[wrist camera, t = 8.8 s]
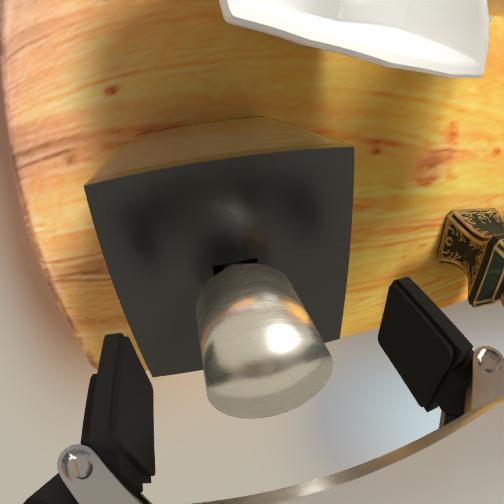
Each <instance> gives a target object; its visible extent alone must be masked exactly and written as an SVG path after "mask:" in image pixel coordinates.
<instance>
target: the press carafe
mask: <svg viewBox="0 0 504 504" xmlns="http://www.w3.org/2000/svg"><path fill="white" fill-rule="evenodd" d="M353 182H354V146H352V145H349V144H346V143H344V142H341V141H338V140H335V139H333V138H330V137H327V136H324V135H321V134H318V133H315V132H312V131H309V130H306V129H303V128H300V127H296V126H293V125H290V124H287V123H283V122H280V121H277V120H273V119H270V118H266V117H263V116H261V117H250V118H240V119H231V120H223V121H215V122H207V123H200V124H194V125H187V126H181V127H175V128H169V129H164V130H158V131H153V132H148V133H143V134H138V135H136V136H135V137H134V138H133V139H132V140H131V141H129V142H128V143H127V144H126V145H125V146H124V147H123V148H122V149H121V150H120V151H119V152H117V153H116V154H115V155H114V156H113V157H112V158H111V159H110V160H109V161H108V162H107V163H106V164H105V165H104V166H103V167H102V168H101V169H100V170H99V171H98V172H97V173H96V174H95V175H94V176H93V177H92V178H91V179H90V180H89V181H88V182H87V183H86V184H85V185H84V189H85V193H86V197H87V201H88V204H89V208H90V212H91V215H92V219H93V223H94V226H95V229H96V233H97V236H98V239H99V243H100V246H101V249H102V252H103V255H104V258H105V261H106V264H107V267H108V270H109V273H110V276H111V279H112V281H113V284H114V287H115V290H116V292H117V295H118V298H119V300H120V303H121V306H122V308H123V311H124V313H125V316H126V318H127V321H128V323H129V326H130V328H131V330H132V333H133V335H134V338H135V340H136V342H137V344H138V347H139V349H140V351H141V353H142V356H143V358H144V360H145V362H146V364H147V367H148V369H149V371H150V373H151V375H152V377H158V376H166V375H173V374H179V373H186V372H192V371H198V370H203V363H202V356H201V348H200V341H199V333H198V325H197V316H196V303H197V299H198V296H199V293H200V292H201V290H202V288H203V287H204V285H205V284H206V283H207V282H208V281H209V280H210V279H211V278H212V277H214V276H215V275H216V274H218V273H219V272H221V271H223V267H222V264H226V263H232V262H237V261H242V262H243V264H247V263H257V264H264V265H268V266H271V267H273V268H275V269H277V270H279V271H280V272H282V273H283V274H284V275H285V276H286V277H287V278H288V280H289V281H290V283H291V285H292V286H293V288H294V290H295V292H296V294H297V295H298V297H299V299H300V301H301V302H302V304H303V306H304V308H305V310H306V311H307V313H308V315H309V317H310V319H311V320H312V322H313V324H314V326H315V328H316V329H317V331H318V333H319V335H320V337H321V338H322V340H323V342H324V343H326V342H330V341H333V340H337V339H340V332H341V325H342V317H343V309H344V301H345V292H346V283H347V274H348V263H349V251H350V239H351V224H352V206H353Z"/></svg>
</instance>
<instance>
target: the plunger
mask: <svg viewBox="0 0 504 504" xmlns="http://www.w3.org/2000/svg"><path fill="white" fill-rule="evenodd" d="M222 267H223V271H221V272H219V273H218V274H216V275H215V276H214V277H212V278H211V279H210V280H209V281H208V282H207V283H206V284H205V285H204V287H203V288H202V290H201V292H200V293H199V296H198V299H197V303H196V316H197V325H198V333H199V341H200V348H201V356H202V363H203V370H204V377H205V384H206V390H207V396H208V398H209V401H210V402H211V404H212V405H213V406H214V407H215V408H216V409H218V410H219V411H221V412H223V413H225V414H227V415H230V416H234V417H238V418H264V417H270V416H275V415H278V414H281V413H284V412H287V411H290V410H292V409H294V408H296V407H298V406H300V405H302V404H303V403H305V402H307V401H308V400H309V399H311V398H312V397H313V396H315V395H316V394H317V393H318V392H319V391H320V390H321V389H322V388H323V386H324V385H325V384H326V382H327V381H328V379H329V377H330V375H331V371H332V364H333V363H332V357H331V355H330V353H329V351H328V349H327V348H326V346H325V344H324V342H323V340H322V338H321V337H320V335H319V333H318V331H317V329H316V328H315V326H314V324H313V322H312V320H311V319H310V317H309V315H308V313H307V311H306V310H305V308H304V306H303V304H302V302H301V301H300V299H299V297H298V295H297V294H296V292H295V290H294V288H293V286H292V285H291V283H290V281H289V280H288V278H287V277H286V276H285V275H284V274H283V273H282V272H280V271H279V270H277V269H275V268H273V267H271V266H268V265H264V264H257V263H247V264H243V262H242V261H237V262H232V263H226V264H222Z"/></svg>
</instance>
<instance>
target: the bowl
mask: <svg viewBox="0 0 504 504" xmlns="http://www.w3.org/2000/svg"><path fill="white" fill-rule="evenodd" d="M219 4H220V7H221V10H222V14H223V17H224V19H225V21H226V22H227V23H229V24H232V25H236V26H240V27H244V28H248V29H252V30H255V31H259V32H263V33H266V34H269V35H273V36H276V37H279V38H282V39H285V40H289V41H292V42H295V43H297V44H300V45H304V46H309V47H313V48H318V49H323V50H327V51H331V52H335V53H339V54H343V55H347V56H351V57H354V58H358V59H361V60H365V61H368V62H371V63H374V64H378V65H381V66H384V67H390V68H398V69H404V70H410V71H416V72H422V73H427V74H432V75H437V76H442V77H447V78H481V77H482V76H483V74H484V70H485V64H486V58H487V51H488V44H489V36H490V29H489V15H488V5H487V0H219Z"/></svg>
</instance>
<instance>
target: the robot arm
mask: <svg viewBox="0 0 504 504" xmlns="http://www.w3.org/2000/svg"><path fill="white" fill-rule="evenodd" d="M487 5H488V15H489V23H490V22H491V20H492V17H493V16H504V0H487ZM378 342H379V344H380V346H381V347H382V349H383V350H384V352H385V353H386V355H387V356H388V357H389V359H390V361H391V362H392V364H393V365H394V367H395V368H396V370H397V371H398V373H399V374H400V376H401V377H402V379H403V381H404V382H405V384H406V385H407V387H408V388H409V390H410V391H411V393H412V395H413V396H414V398H415V399H416V401H417V402H418V404H419V405H420V406H421V407H424V408H425V410H426V411H427V412H429V411H431V410H433V409H435V408H437V407H438V406H439V407H440V408H441V410H442V412H441V418H440V424H439V429H437V430H435V431H433V432H431V433H430V434H428V435H426V436H424V437H422V438H420V439H418V440H416V441H414V442H412V443H410V444H408V445H405V446H403V447H401V448H399V449H397V450H395V451H392V452H390V453H388V454H385V455H383V456H381V457H378V458H376V459H373V460H371V461H368V462H366V463H363V464H361V465H358V466H355V467H352V468H350V469H347V470H344V471H341V472H339V473H335V474H332V475H329V476H326V477H323V478H320V479H316V480H313V481H309V482H306V483H302V484H298V485H295V486H291V487H287V488H283V489H279V490H274V491H270V492H265V493H260V494H255V495H250V496H244V497H238V498H232V499H226V500H218V501H211V502H203V503H194V504H504V358H503V356H502V354H501V353H500V352H499V351H497V350H496V349H494V348H492V347H489V346H482V347H479V348H477V349H476V350H475V352H474V351H473V350H472V348H473V345H472V344H471V343H470V342H469V341H468V340H467V339H466V337H465V336H464V335H463V334H462V333H461V332H460V331H459V329H458V328H457V327H456V326H455V325H454V324H453V323H452V322H451V321H450V320H449V319H448V317H447V316H446V315H445V314H444V313H443V312H442V311H441V310H440V309H439V308H438V307H437V306H436V304H435V303H434V302H433V301H432V300H431V299H430V298H429V297H428V296H427V295H426V294H425V293H424V292H423V291H422V290H421V289H420V288H419V287H418V286H417V285H416V284H415V283H414V282H413V281H412V280H411V279H410V278H409V277H405V278H401V279H397V280H394V281H393V283H392V285H391V286H390V287H389V291H388V296H387V300H386V305H385V309H384V313H383V318H382V322H381V326H380V330H379V334H378ZM57 466H58V472H59V473H58V474H57V475H55V476H54V477H53V478H52V479H51V480H50V481H48V482H47V483H46V484H45V485H44V486H42V487H41V488H40V489H39V490H38V491H36V492H35V493H34V494H33V495H32V496H30V497H29V498H28V499H27V500H26V501H25V502H24V503H23V504H152V503H151V502H150V501H149V500H148V499H147V498H146V497H145V496H144V495H143V494H142V493H141V492H142V491H143V485H142V483H151V476H154V475H155V454H154V419H153V388H152V385H151V382H150V380H149V378H148V376H147V374H146V372H145V370H144V368H143V366H142V364H141V362H140V360H139V358H138V356H137V354H136V352H135V349H134V347H133V345H132V343H131V341H130V339H129V337H124V335H123V334H122V333H117V334H108V335H105V338H104V342H103V347H102V352H101V357H100V362H99V367H98V373H97V374H93V375H92V376H91V379H90V384H89V389H88V395H87V401H86V408H85V415H84V421H83V428H82V437H81V445H79V444H77V445H71V446H70V447H68V448H66V449H65V450H64V451H63V452H62V453H61V455H60V456H59V458H58V463H57Z"/></svg>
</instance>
